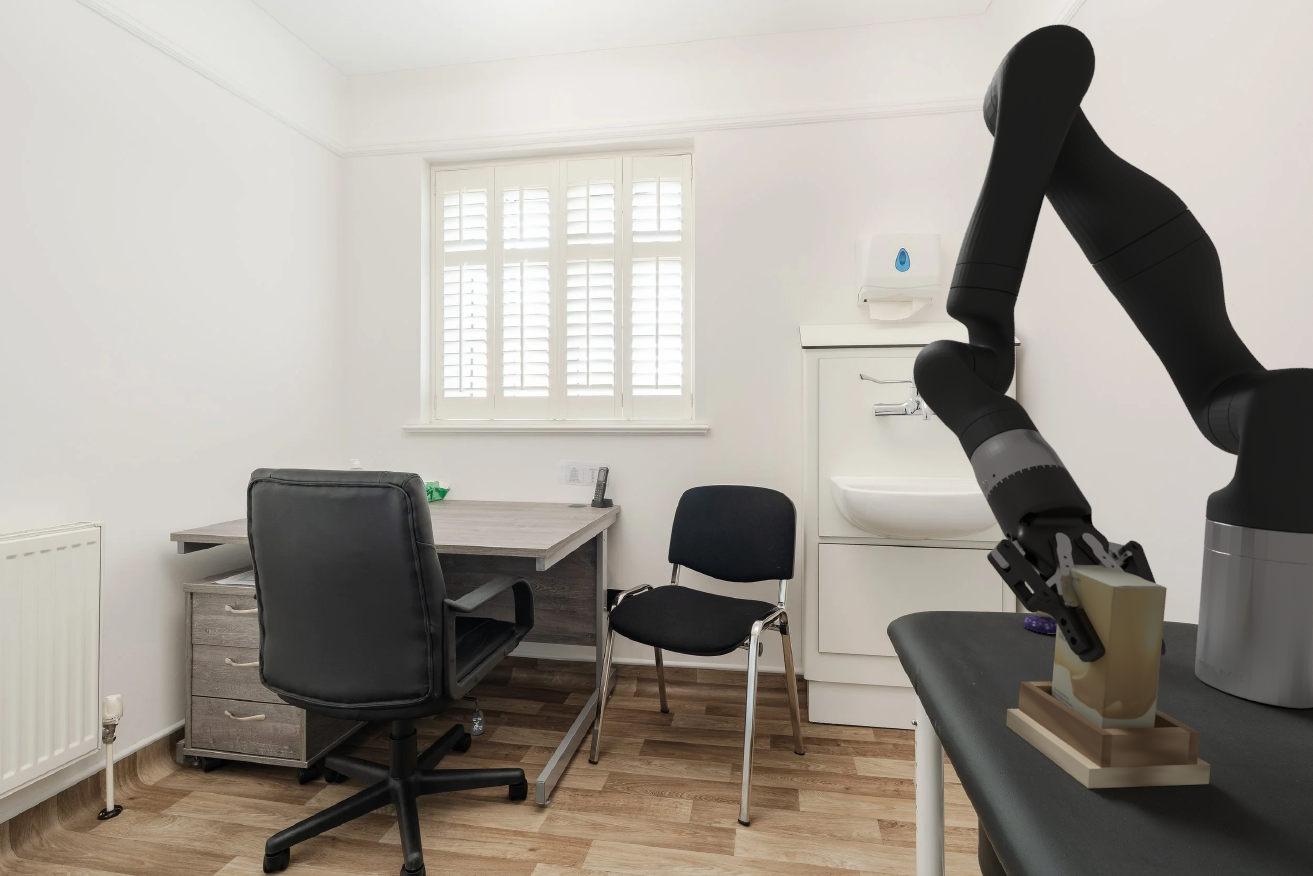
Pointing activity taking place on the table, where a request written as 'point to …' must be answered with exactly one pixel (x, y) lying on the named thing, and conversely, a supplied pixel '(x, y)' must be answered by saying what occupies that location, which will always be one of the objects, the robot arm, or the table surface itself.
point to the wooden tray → (1107, 744)
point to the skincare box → (1114, 650)
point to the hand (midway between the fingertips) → (1124, 657)
